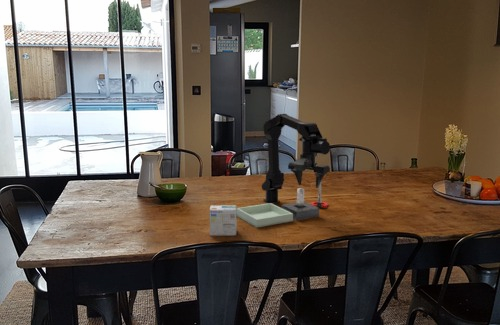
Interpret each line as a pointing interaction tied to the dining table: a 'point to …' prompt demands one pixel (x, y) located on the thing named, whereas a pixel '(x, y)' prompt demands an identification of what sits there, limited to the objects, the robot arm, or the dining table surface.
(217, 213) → the light bulb box
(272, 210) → the tray
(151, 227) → the dining table surface
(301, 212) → the hitch block
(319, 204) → the tow hook
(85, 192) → the dining table surface
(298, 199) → the pin
